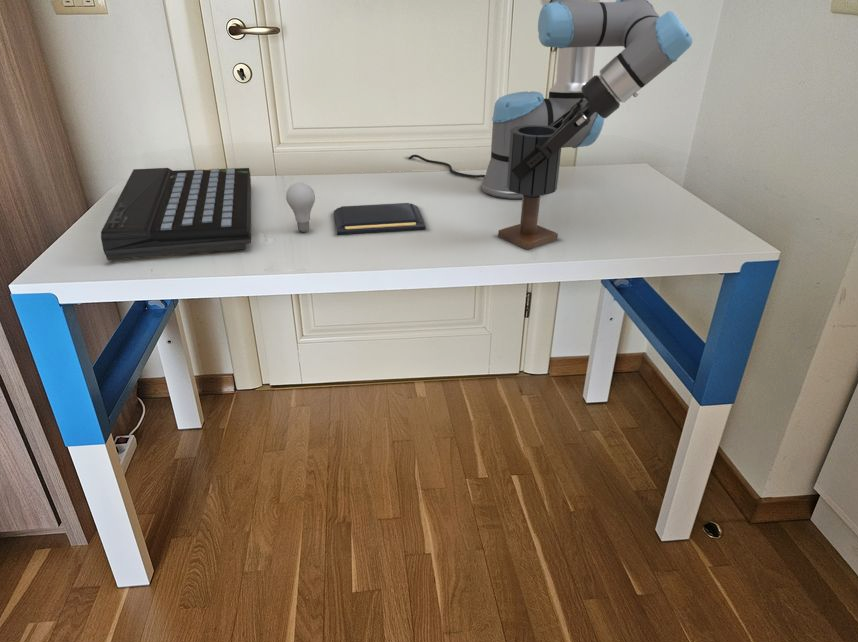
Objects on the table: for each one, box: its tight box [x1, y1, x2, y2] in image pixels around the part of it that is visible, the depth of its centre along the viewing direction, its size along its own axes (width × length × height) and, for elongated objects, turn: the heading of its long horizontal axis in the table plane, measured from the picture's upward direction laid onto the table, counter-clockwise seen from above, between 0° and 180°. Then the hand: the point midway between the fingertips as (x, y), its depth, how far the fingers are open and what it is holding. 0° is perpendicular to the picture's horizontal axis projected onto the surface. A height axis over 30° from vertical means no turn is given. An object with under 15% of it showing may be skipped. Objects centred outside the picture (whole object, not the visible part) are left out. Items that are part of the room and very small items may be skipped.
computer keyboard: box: [100, 167, 252, 261], centre depth 148 cm, size 45×28×7 cm, turn 12°
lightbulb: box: [285, 181, 316, 233], centre depth 141 cm, size 6×6×11 cm
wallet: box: [333, 202, 426, 236], centre depth 149 cm, size 20×2×15 cm
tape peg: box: [497, 195, 559, 250], centre depth 138 cm, size 9×9×10 cm
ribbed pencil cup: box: [507, 125, 562, 196], centre depth 132 cm, size 10×10×12 cm
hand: (518, 167), depth 133 cm, fingers closed on ribbed pencil cup, 10 cm apart
